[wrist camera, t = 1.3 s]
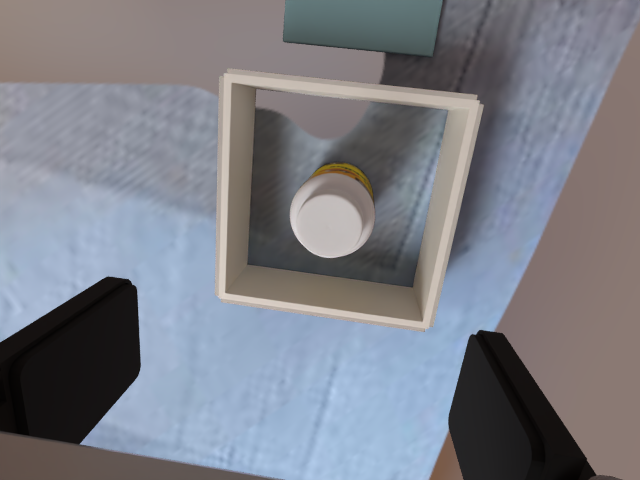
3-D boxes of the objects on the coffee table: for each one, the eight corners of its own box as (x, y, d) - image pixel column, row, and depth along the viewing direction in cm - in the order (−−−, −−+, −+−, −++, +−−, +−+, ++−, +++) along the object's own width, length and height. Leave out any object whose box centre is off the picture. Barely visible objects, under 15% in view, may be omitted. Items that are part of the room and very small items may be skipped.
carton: (246, 76, 30) (219, 67, 24) (461, 99, 29) (486, 95, 23) (238, 271, 35) (214, 301, 29) (419, 297, 34) (431, 333, 28)
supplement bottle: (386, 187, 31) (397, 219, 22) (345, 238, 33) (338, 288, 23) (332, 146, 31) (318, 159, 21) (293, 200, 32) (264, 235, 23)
